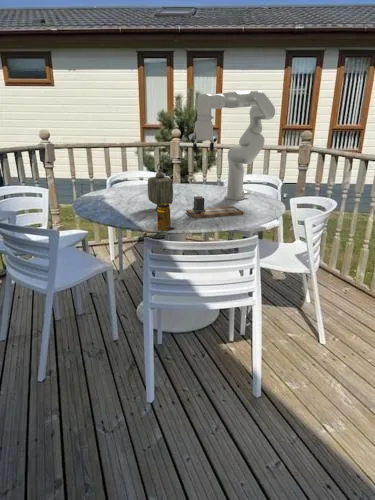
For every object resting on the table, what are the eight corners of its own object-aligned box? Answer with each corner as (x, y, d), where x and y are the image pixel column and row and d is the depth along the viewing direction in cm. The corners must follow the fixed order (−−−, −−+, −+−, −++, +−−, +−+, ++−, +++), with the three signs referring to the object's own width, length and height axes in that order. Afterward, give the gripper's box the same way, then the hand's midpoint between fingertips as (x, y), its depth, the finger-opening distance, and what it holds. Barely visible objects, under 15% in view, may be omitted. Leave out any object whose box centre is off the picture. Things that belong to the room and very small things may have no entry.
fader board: (233, 208, 201) (233, 204, 200) (243, 214, 190) (243, 210, 190) (186, 212, 193) (186, 208, 192) (193, 218, 182) (193, 214, 181)
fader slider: (201, 209, 192) (201, 195, 189) (205, 212, 186) (205, 198, 184) (192, 209, 190) (192, 196, 187) (196, 212, 185) (196, 199, 182)
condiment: (153, 229, 165) (153, 204, 161) (166, 225, 171) (165, 200, 167) (165, 232, 161) (164, 206, 157) (177, 228, 167) (177, 203, 163)
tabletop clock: (173, 211, 194) (173, 165, 185) (157, 213, 190) (156, 166, 181) (162, 205, 206) (161, 161, 197) (147, 207, 202) (146, 162, 193)
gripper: (216, 118, 200) (215, 150, 206) (186, 118, 195) (186, 150, 201) (221, 118, 193) (220, 151, 199) (191, 118, 188) (190, 152, 194)
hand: (203, 151), depth 200 cm, fingers open, 9 cm apart
